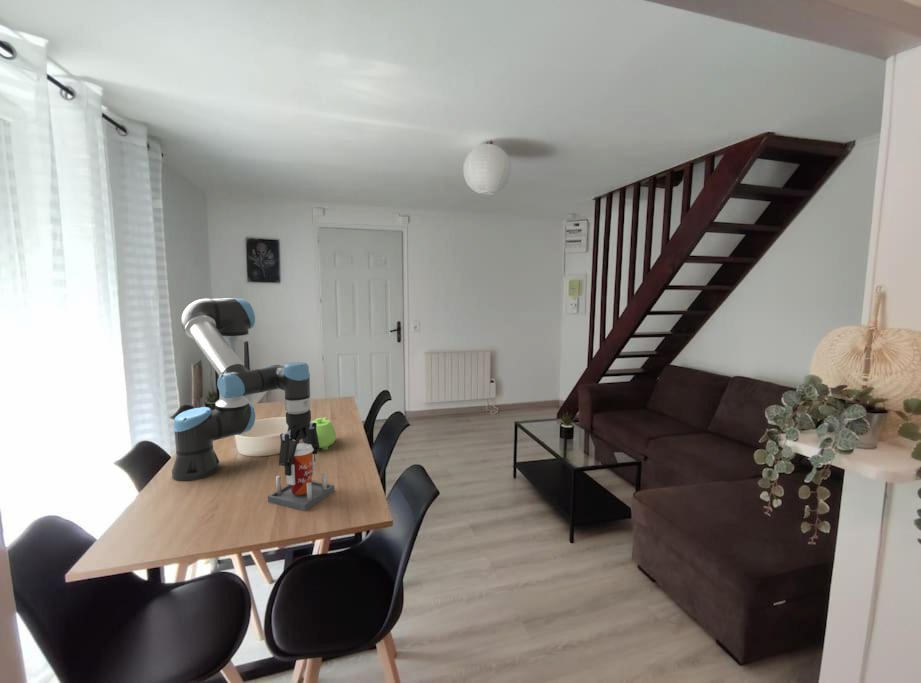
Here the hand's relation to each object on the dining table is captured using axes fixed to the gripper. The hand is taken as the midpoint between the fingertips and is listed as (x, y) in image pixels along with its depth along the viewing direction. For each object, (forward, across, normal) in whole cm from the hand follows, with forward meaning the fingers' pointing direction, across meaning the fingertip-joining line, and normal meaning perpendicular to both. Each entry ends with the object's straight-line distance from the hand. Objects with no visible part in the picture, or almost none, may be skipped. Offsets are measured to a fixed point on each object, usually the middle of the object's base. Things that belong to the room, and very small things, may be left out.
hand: (301, 478), depth 135 cm
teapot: (+7, +38, +25) cm, 46 cm away
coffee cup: (+4, 0, 0) cm, 4 cm away
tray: (+6, 0, 0) cm, 6 cm away
